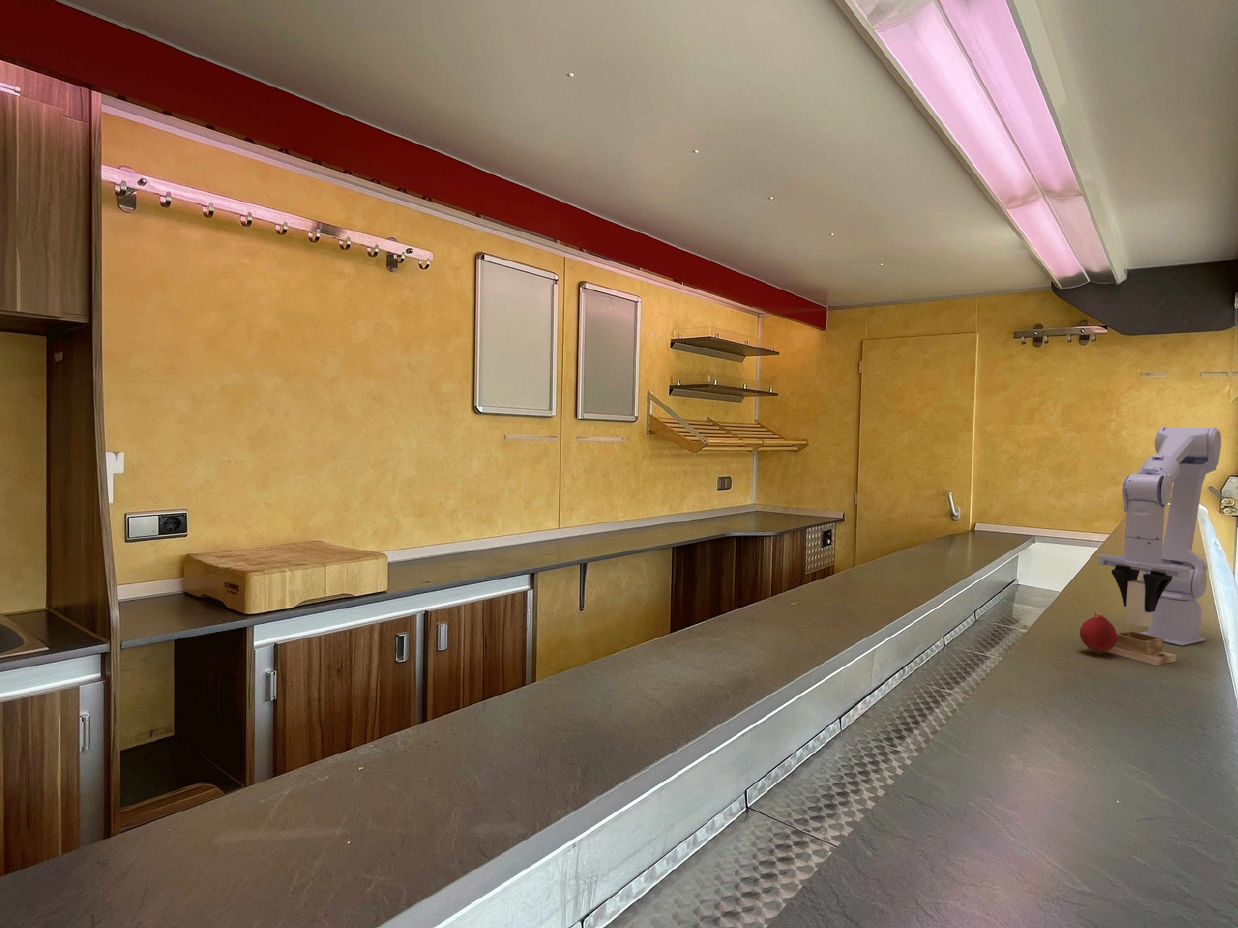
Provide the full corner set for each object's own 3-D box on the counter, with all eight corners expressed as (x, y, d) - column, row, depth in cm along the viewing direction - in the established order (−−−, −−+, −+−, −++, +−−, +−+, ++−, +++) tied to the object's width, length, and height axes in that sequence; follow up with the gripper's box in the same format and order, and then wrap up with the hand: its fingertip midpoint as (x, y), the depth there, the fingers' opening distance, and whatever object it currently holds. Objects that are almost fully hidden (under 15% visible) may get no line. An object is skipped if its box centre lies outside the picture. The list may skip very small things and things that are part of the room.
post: (1134, 620, 134) (1136, 579, 133) (1151, 625, 131) (1154, 583, 130) (1125, 622, 132) (1127, 580, 132) (1142, 626, 130) (1145, 584, 129)
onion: (1104, 650, 135) (1107, 609, 134) (1123, 659, 129) (1125, 617, 129) (1072, 648, 135) (1075, 607, 135) (1089, 657, 129) (1092, 615, 129)
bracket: (1117, 645, 138) (1118, 627, 138) (1176, 661, 129) (1177, 641, 129) (1098, 649, 135) (1099, 630, 135) (1157, 665, 126) (1158, 645, 126)
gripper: (1090, 533, 135) (1086, 601, 136) (1177, 544, 122) (1172, 620, 123) (1111, 531, 139) (1107, 598, 139) (1197, 542, 126) (1193, 616, 126)
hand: (1139, 608), depth 131 cm, fingers closed on post, 3 cm apart
